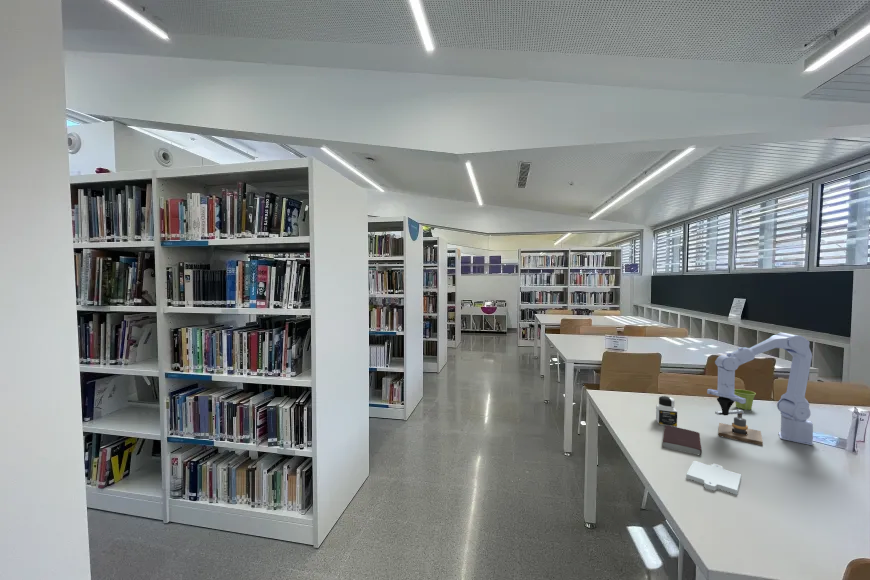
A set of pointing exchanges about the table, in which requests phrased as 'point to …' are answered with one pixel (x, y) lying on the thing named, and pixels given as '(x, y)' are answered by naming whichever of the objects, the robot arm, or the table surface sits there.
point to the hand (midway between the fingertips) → (725, 414)
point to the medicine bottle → (666, 411)
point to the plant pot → (747, 395)
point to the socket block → (750, 436)
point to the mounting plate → (714, 477)
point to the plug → (740, 425)
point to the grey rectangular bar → (730, 412)
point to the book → (682, 440)
